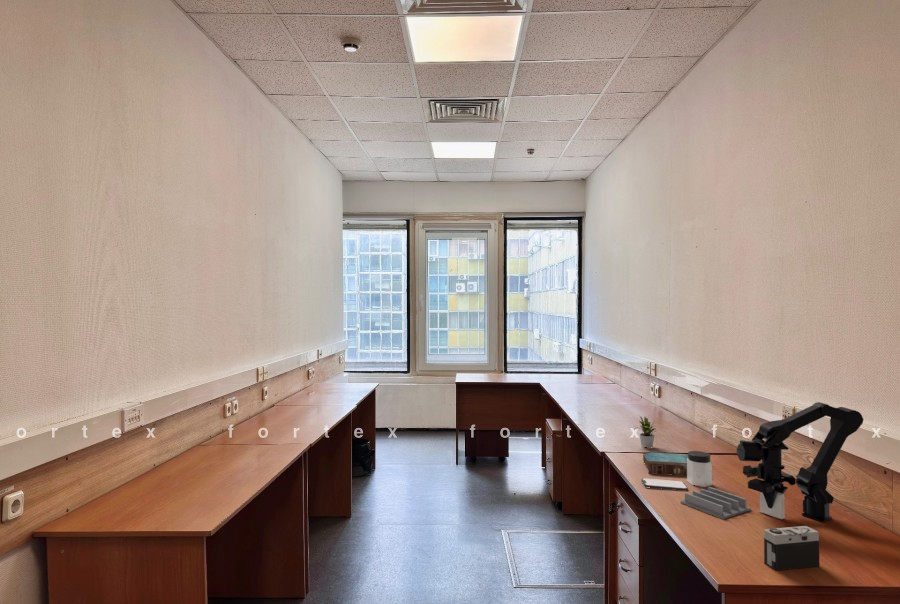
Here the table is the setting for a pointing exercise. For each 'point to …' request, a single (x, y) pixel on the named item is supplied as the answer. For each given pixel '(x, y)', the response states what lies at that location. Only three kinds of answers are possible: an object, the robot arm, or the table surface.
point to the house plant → (646, 433)
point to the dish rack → (716, 502)
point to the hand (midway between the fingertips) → (771, 507)
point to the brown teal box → (666, 463)
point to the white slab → (777, 508)
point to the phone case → (664, 484)
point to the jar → (699, 469)
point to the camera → (791, 548)
